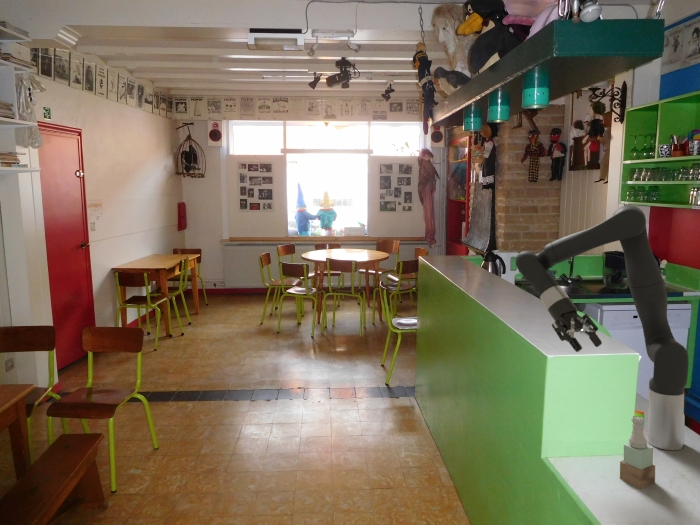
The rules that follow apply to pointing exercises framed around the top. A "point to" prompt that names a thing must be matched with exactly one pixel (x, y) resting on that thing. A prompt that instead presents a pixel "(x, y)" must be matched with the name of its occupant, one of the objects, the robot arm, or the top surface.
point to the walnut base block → (637, 475)
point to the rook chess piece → (637, 433)
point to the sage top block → (638, 456)
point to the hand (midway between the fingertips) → (589, 347)
